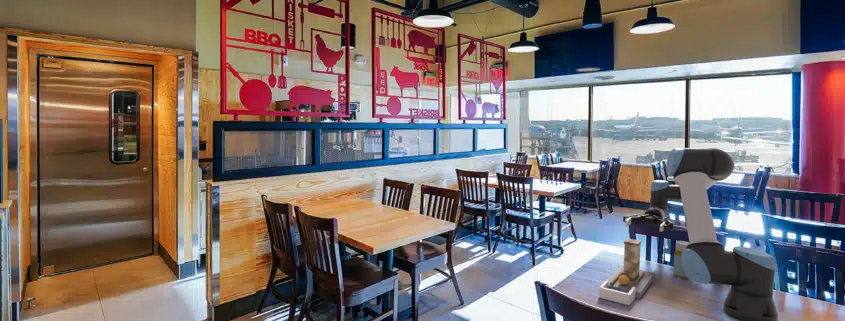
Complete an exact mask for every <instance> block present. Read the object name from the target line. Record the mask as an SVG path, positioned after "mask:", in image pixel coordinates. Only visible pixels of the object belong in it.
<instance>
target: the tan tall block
mask: <svg viewBox="0 0 845 321" xmlns="http://www.w3.org/2000/svg"><path fill="white" fill-rule="evenodd" d="M623 244H624V250H623V251H624V252H623V266H624V270H623V271H622V275H626V276H627V277H628V278H629V280H633V281H635V280H636V278H637V277H638V276H639V270H640V268H641V267H640V265H641V244H642V240H638V239H633V238H629V237H628V238H626V239H625V240H623Z"/></svg>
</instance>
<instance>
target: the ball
mask: <svg viewBox="0 0 845 321" xmlns="http://www.w3.org/2000/svg"><path fill="white" fill-rule="evenodd" d="M618 281H619V283H620V284H622V285H627V284H628V283H629V278H628V277H627V276H626V275H621V276H619V278H618Z"/></svg>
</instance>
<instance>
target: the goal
mask: <svg viewBox="0 0 845 321" xmlns="http://www.w3.org/2000/svg"><path fill="white" fill-rule="evenodd" d="M604 281H605V280H604ZM604 281H603V282H604ZM603 282H602V283H603ZM602 283H601V285H600V286H599V287H598V299H600V300H604V301H608V302H610V303H611V302H612V303H616V304H619V305H623V306H627V307H631V305H632V303H633V302H634V301H635V300H636V299H637V298H636V297H635V295H636V287H632V289H631V290H630V291H629V292H628V293H624V292H620V291H616V290H612V289H608V284H609V281H605V282H604V283H603V284H602Z"/></svg>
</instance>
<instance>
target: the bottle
mask: <svg viewBox="0 0 845 321" xmlns="http://www.w3.org/2000/svg"><path fill="white" fill-rule="evenodd" d="M689 242H690V241H685V240H677V241H676V242H675V250H674V257H673V273H672V274H673V276H675V277H676V278H679V279H683V280H690V279H689V278H688V277H687V275H686V274H685V272H684V269H683V266H682V257H681V256H682V252H683V250H685V249H686V245H687V244H688V243H689Z"/></svg>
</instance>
